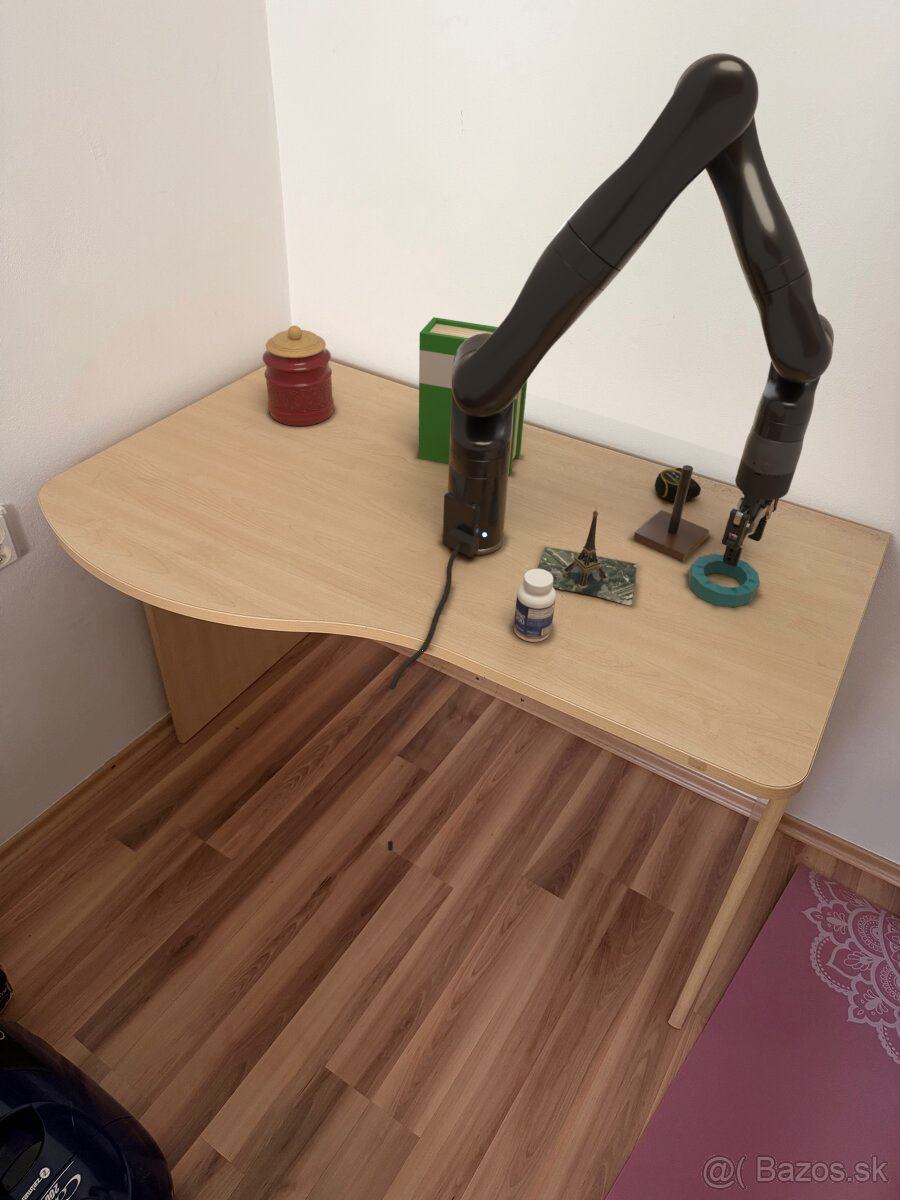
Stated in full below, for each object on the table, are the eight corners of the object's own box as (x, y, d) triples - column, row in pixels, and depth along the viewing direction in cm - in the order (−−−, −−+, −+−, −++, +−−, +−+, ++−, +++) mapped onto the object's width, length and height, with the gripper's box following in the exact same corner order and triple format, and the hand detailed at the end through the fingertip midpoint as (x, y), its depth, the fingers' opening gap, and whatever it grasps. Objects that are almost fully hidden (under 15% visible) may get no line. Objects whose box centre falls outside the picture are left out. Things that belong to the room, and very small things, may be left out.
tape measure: (699, 502, 147) (704, 484, 145) (665, 508, 145) (669, 489, 143) (679, 482, 152) (684, 464, 150) (646, 487, 150) (650, 469, 148)
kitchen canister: (305, 434, 161) (297, 346, 150) (255, 415, 167) (244, 328, 155) (347, 408, 170) (343, 323, 159) (298, 391, 175) (291, 308, 164)
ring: (737, 616, 124) (742, 603, 122) (677, 587, 128) (680, 575, 127) (765, 584, 130) (769, 572, 128) (706, 558, 134) (710, 546, 133)
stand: (682, 561, 134) (701, 489, 125) (633, 539, 138) (648, 468, 129) (707, 537, 139) (727, 466, 130) (659, 516, 143) (675, 447, 135)
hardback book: (520, 456, 157) (532, 332, 142) (510, 475, 152) (521, 348, 137) (431, 439, 161) (433, 317, 146) (418, 458, 156) (419, 332, 140)
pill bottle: (510, 618, 122) (516, 565, 115) (547, 617, 122) (554, 564, 116) (516, 644, 117) (522, 590, 111) (553, 642, 118) (561, 589, 112)
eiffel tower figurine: (638, 566, 132) (654, 494, 124) (631, 605, 125) (647, 532, 116) (545, 548, 135) (554, 477, 127) (532, 586, 128) (541, 513, 119)
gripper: (764, 432, 125) (738, 522, 135) (722, 469, 116) (698, 562, 126) (814, 448, 121) (783, 540, 131) (774, 488, 112) (745, 583, 123)
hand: (741, 551), depth 129 cm, fingers open, 8 cm apart
